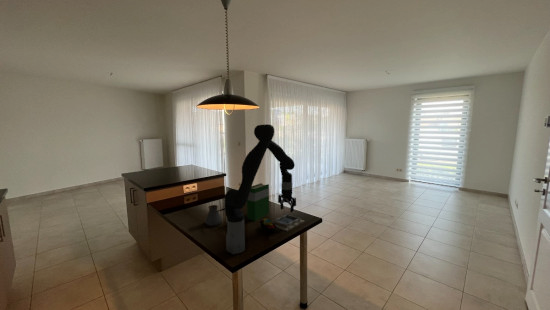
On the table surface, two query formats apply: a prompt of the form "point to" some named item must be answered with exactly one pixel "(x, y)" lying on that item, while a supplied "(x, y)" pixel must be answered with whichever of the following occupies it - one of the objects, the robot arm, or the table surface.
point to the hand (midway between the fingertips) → (286, 210)
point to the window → (287, 222)
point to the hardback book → (258, 202)
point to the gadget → (268, 225)
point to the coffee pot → (213, 216)
